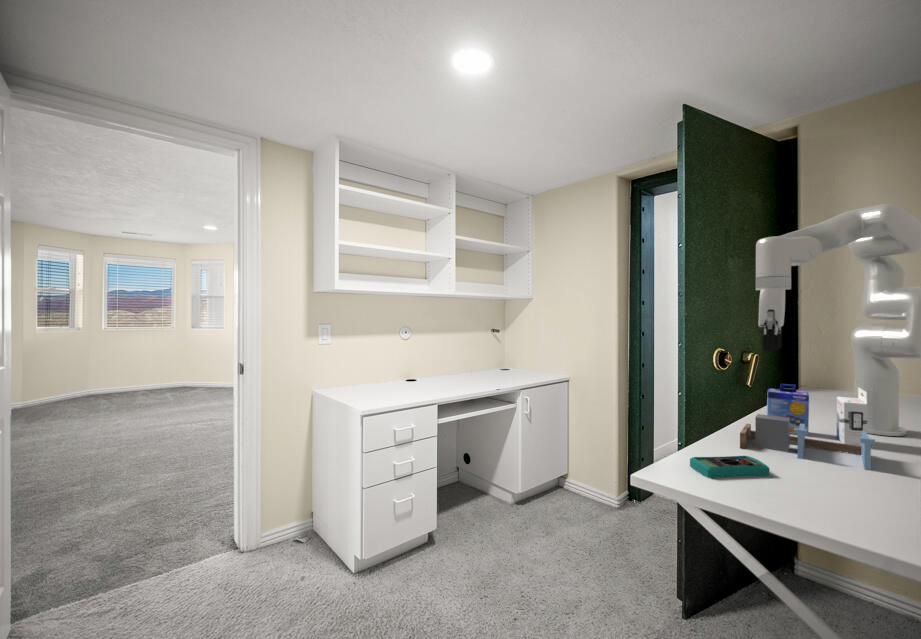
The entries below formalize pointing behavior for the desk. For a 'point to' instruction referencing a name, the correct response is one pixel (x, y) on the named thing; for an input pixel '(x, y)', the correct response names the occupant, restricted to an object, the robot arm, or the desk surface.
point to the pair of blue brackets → (864, 440)
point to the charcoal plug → (772, 432)
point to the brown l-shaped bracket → (827, 445)
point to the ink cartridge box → (789, 406)
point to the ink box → (852, 418)
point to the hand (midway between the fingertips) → (772, 349)
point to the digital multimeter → (729, 466)
